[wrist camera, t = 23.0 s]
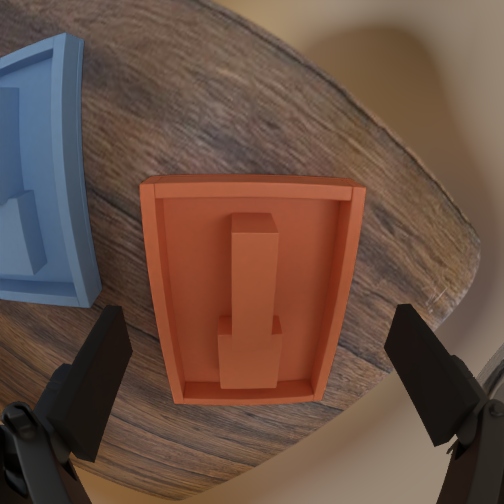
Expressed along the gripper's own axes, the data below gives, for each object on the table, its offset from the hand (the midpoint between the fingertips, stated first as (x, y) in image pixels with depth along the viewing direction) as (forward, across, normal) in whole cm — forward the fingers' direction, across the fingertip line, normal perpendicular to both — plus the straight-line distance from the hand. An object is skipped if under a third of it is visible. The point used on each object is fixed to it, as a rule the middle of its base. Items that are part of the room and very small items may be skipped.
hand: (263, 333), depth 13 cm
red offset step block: (+6, 0, -2) cm, 6 cm away
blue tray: (+6, -16, +7) cm, 19 cm away
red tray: (+6, 0, -2) cm, 7 cm away
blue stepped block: (+5, -16, +7) cm, 19 cm away
